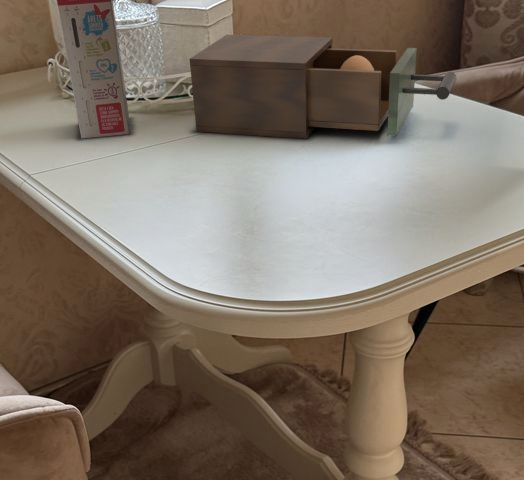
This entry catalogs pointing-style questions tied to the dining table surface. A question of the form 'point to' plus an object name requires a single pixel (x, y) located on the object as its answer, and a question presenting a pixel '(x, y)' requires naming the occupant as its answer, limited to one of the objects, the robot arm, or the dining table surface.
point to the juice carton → (95, 66)
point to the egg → (357, 64)
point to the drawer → (366, 90)
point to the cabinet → (254, 84)
